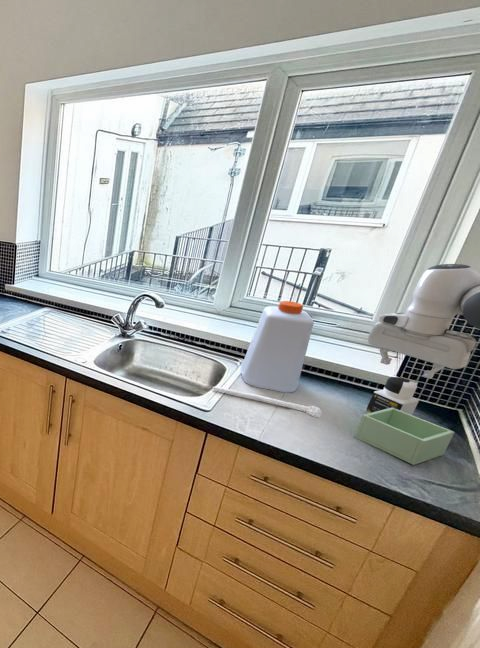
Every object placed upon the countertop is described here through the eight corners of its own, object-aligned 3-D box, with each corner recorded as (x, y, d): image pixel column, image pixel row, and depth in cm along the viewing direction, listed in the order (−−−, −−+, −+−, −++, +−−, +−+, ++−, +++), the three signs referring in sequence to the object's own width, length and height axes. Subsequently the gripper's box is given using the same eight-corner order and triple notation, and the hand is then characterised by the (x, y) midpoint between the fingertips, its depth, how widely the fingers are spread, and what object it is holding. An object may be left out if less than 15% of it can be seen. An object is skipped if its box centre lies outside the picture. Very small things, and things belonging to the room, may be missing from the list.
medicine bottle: (364, 411, 125) (380, 376, 120) (380, 408, 127) (396, 372, 122) (392, 425, 118) (410, 388, 114) (409, 421, 120) (427, 384, 116)
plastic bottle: (297, 397, 134) (328, 314, 123) (243, 386, 140) (267, 307, 129) (288, 376, 146) (314, 300, 135) (238, 367, 152) (260, 294, 141)
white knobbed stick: (211, 393, 134) (213, 385, 133) (212, 388, 137) (214, 380, 136) (321, 420, 120) (324, 412, 119) (319, 413, 124) (322, 405, 122)
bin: (443, 454, 106) (454, 431, 103) (413, 465, 102) (424, 441, 99) (383, 428, 117) (392, 407, 114) (353, 436, 113) (362, 414, 110)
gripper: (486, 335, 105) (462, 385, 109) (387, 312, 123) (370, 355, 127) (472, 338, 103) (448, 388, 107) (373, 313, 121) (356, 357, 125)
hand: (405, 370), depth 118 cm, fingers open, 8 cm apart
